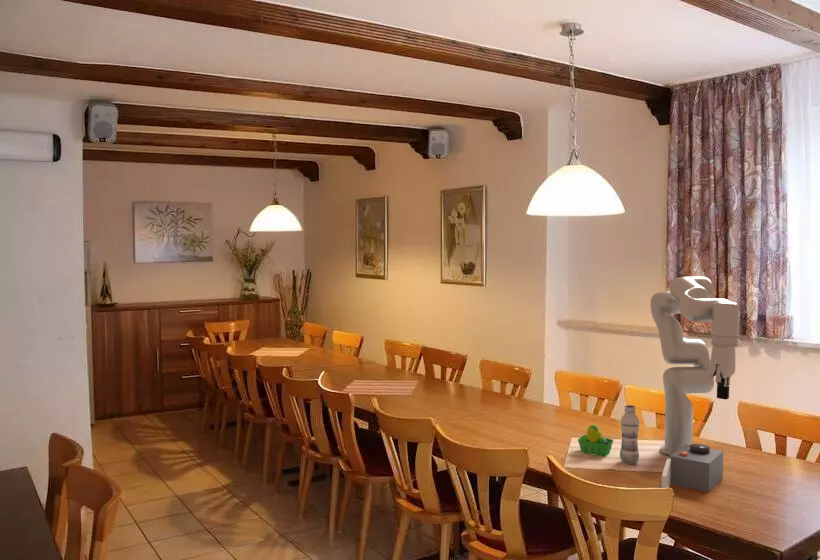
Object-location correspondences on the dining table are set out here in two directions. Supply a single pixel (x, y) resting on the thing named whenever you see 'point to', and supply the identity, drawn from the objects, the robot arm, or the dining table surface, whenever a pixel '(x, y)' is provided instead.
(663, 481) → the door
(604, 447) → the fruit basket
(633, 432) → the plastic bottle
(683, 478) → the grey block
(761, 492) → the dining table surface
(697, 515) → the dining table surface
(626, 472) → the dining table surface
